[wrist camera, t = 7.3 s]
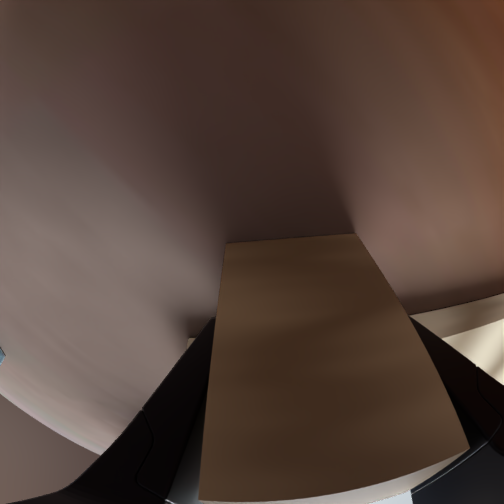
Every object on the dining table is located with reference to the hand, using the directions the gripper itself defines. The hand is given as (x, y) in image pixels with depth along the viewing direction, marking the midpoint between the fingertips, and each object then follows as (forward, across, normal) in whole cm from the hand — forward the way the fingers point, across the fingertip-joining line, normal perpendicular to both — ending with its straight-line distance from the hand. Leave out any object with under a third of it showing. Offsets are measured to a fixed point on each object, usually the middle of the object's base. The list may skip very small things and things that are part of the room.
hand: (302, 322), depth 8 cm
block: (+2, 0, +4) cm, 5 cm away
